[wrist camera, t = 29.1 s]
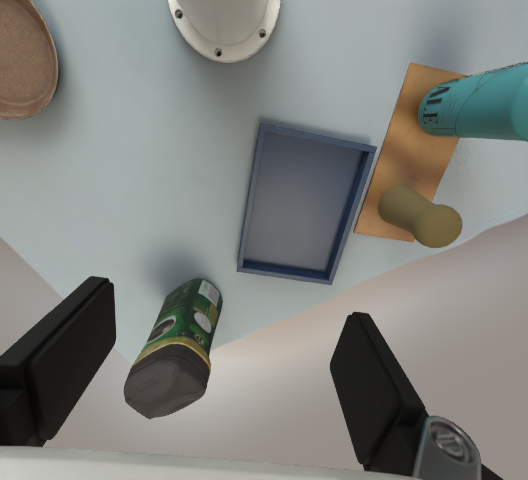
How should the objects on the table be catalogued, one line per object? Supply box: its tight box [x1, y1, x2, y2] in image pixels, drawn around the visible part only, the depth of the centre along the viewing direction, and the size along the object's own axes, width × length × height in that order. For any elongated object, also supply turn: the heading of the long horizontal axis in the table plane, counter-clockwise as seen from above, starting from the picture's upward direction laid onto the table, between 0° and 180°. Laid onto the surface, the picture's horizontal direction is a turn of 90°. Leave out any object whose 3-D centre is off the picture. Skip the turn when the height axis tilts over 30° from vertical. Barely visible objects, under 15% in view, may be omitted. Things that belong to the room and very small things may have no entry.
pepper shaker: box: [378, 185, 462, 248], centre depth 35 cm, size 6×6×11 cm
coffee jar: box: [124, 279, 223, 419], centre depth 38 cm, size 10×8×19 cm
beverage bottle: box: [418, 62, 528, 142], centre depth 26 cm, size 6×7×20 cm
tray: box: [237, 124, 377, 285], centre depth 39 cm, size 22×16×2 cm
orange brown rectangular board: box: [354, 63, 467, 242], centre depth 38 cm, size 23×10×1 cm, turn 170°
